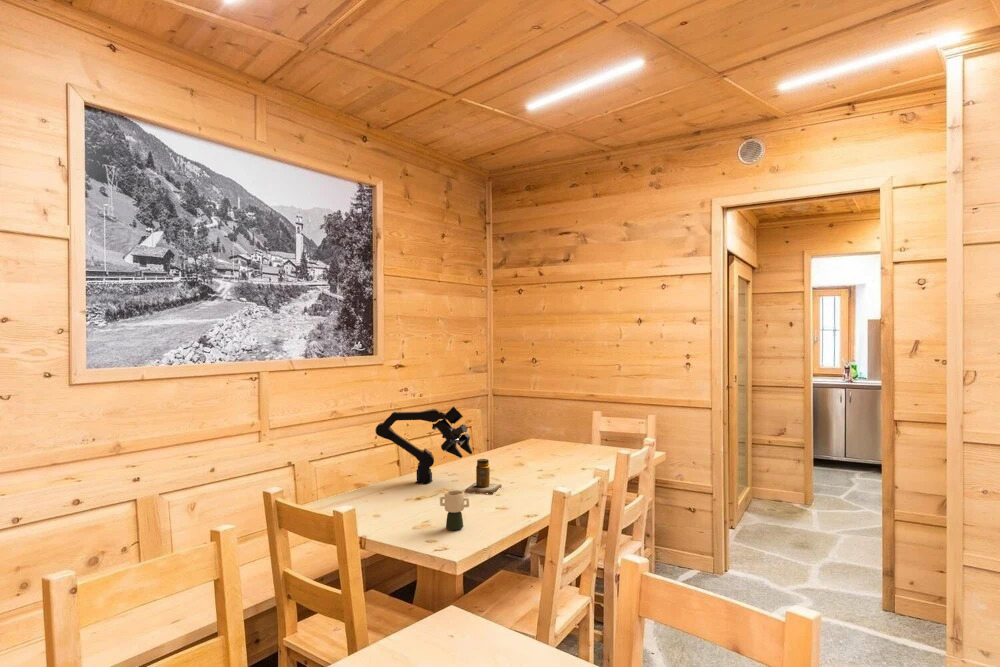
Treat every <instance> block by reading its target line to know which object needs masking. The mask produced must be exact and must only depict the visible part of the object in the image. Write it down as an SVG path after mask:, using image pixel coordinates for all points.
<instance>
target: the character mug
mask: <svg viewBox="0 0 1000 667" xmlns="http://www.w3.org/2000/svg"><path fill="white" fill-rule="evenodd" d="M443 500H444V503H443ZM465 501H466V503H465ZM439 505H440V506H442V507H444V510H445V512H447V515H446V521H445V522H446V523H445V527H446V529H447V530H451V531H454V530H460V529H461V528H462V529H463V528H464V520H463V514H462V512H463V511H464V509H465V508H469V507H470V498H469V497H465V491H463V490H461V489H451V490H447V491H445V492H444V496H440V497H439Z"/></svg>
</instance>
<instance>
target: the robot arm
mask: <svg viewBox="0 0 1000 667" xmlns="http://www.w3.org/2000/svg"><path fill="white" fill-rule="evenodd" d="M462 418H464V415H463V414H462V413H461V412H460V411H459V410H458V409H457V408H456V407H455V406H452V407H451V408H450V409H449V410H448V411H447V412H441V411H439V410H438V409H437V408H431V409H426V410H421V411H393V412H391V414H390V415H389V416H388V417H387V418H386V419H385V420H384V421H383V422H380V423H379V424H377V426H375V434H376V435H377V436H378V437H381V438H382V439H385V440H389V441H391V442H392V443H394V444H395V445H397V446H398V447H400V448H401V449H403V450H404V451H406V452H408V453H409V455H412V456H413V457H414V458H415V459H416V460H417V461H418V463H417V469H416V481H415V482H414V484H420V483H423V484H422V485H428V484H430V483H432V482H433V471H432V469H431V467H432V466H434V463H435V456H434V455H433V453H432V452H431V451H430V450H428V449H427V448H426V447H425V448H424V449H420V448H418V446H415V444H412V443H411V442H409V441H408V440H407V439H405V438H404V437H402V436H401V435H399V434H398V433H396V432H395V431H394V429H393V428H392V425H393V424H395V423H396V422H397V421H425V422H429V423H432V426H431V427H432V428H431V429H432V431H433V430H434V431H435V430H436V429H437V430H438V431H439V432H440V433H441V434H440V435H441V438H442V439H445V440H444V441H443V442H442V444H440V448H441V450H442V451H443V452H446V453H449V454H452V455H454V456H455V457H458V458H460V459H462V458H463V454H462V452H460V450H459V448H461V449H462V450H463V451H464V452H467V454H469V455H472V454H473V451H472V448H471V446H470V439H471V435H470V434H469V433H468V426H467V425H466V424H464V423H463V424H461V425H459V426H458V427H457V428H456V427H452V424H453V425H455V424H457V423H458V422H459V421H460V420H461V419H462ZM450 424H451V425H450ZM457 445H458V446H459V448H458V446H457Z"/></svg>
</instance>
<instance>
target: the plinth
mask: <svg viewBox="0 0 1000 667" xmlns="http://www.w3.org/2000/svg"><path fill="white" fill-rule="evenodd" d="M475 485H476V482H474V483H472V484H471V485H470V486H468V487H466V488H465V489H464V493H467V492H475V493H474V494H480V493H488V494H487V495H494V494H495V493H497V490H498V489H499V488H500V489H502V487H503V486H502V484H499V483H497V484H496V483H490V485H492V486H491V487H489V488H487V489H476V488H471V487H473V486H475ZM500 489H499V490H500ZM499 490H498V491H499ZM494 492H495V493H494ZM493 493H494V494H493Z"/></svg>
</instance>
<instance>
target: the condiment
mask: <svg viewBox="0 0 1000 667" xmlns="http://www.w3.org/2000/svg"><path fill="white" fill-rule="evenodd" d="M476 462H477V463H476V470H475V472H476V474H475V475H476V476H475V477H476V478H475V480H476V481H475V483H476V485H475V486H473V487H471V488H476V489H487V488H489V487H491V486H492V485H490V484H491V483H490V480H491V479H490V472H491V471H490V470H491V469H490V465H489V464H490V463H489V462H490V461H489V459H486V458H480V459H477V460H476Z"/></svg>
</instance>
